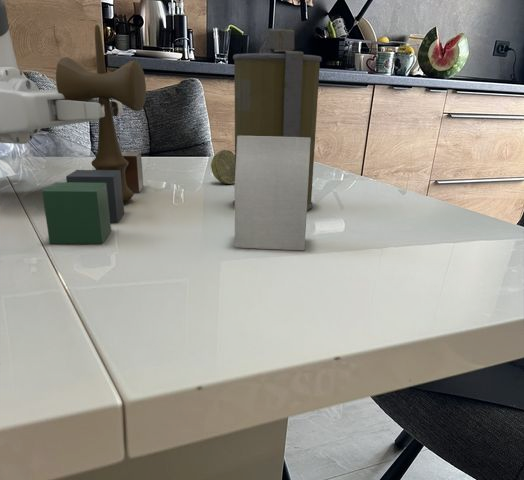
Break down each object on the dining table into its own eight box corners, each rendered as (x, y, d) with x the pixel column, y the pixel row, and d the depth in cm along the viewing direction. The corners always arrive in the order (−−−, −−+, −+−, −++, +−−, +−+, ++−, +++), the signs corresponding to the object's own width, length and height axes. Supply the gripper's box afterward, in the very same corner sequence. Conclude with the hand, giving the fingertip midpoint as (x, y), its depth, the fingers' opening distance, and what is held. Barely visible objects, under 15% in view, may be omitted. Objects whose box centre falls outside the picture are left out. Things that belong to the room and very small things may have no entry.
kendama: (88, 194, 75) (69, 26, 66) (156, 198, 74) (145, 27, 65) (68, 202, 70) (44, 21, 61) (140, 206, 69) (127, 22, 60)
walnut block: (103, 192, 78) (100, 155, 76) (110, 186, 82) (106, 151, 80) (139, 192, 78) (136, 155, 76) (143, 186, 83) (141, 152, 81)
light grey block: (304, 250, 53) (310, 139, 48) (234, 247, 53) (234, 137, 49) (305, 240, 56) (310, 136, 52) (239, 238, 56) (239, 134, 52)
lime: (242, 181, 89) (243, 149, 87) (234, 186, 85) (234, 152, 83) (216, 180, 90) (216, 148, 88) (207, 184, 86) (206, 151, 83)
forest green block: (49, 243, 53) (41, 190, 51) (62, 231, 57) (55, 182, 55) (102, 243, 53) (96, 191, 51) (111, 231, 58) (106, 182, 56)
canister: (224, 199, 75) (223, 31, 66) (295, 196, 78) (303, 35, 69) (247, 216, 66) (249, 23, 57) (326, 212, 69) (340, 28, 60)
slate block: (72, 222, 61) (65, 176, 59) (82, 213, 65) (76, 169, 63) (117, 222, 61) (113, 176, 59) (124, 213, 66) (120, 170, 64)
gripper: (51, 127, 79) (142, 130, 78) (-39, 140, 61) (77, 145, 60) (44, 78, 77) (139, 81, 75) (-52, 77, 58) (70, 80, 57)
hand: (111, 109), depth 67 cm, fingers closed on kendama, 4 cm apart
